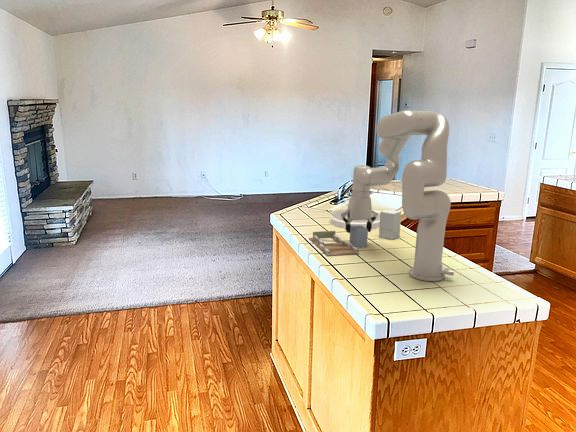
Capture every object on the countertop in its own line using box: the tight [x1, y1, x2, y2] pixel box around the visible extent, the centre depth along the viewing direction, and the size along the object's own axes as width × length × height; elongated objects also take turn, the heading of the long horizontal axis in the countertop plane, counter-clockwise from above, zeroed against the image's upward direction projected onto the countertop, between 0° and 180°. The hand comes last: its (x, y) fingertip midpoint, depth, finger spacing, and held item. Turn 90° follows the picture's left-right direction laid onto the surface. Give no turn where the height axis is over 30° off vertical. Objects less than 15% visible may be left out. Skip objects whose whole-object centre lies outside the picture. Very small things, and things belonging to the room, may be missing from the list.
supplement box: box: [378, 208, 402, 241], centre depth 215 cm, size 7×7×13 cm
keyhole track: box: [308, 230, 360, 257], centre depth 200 cm, size 26×14×3 cm, turn 14°
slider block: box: [349, 225, 369, 249], centre depth 202 cm, size 8×5×8 cm, turn 14°
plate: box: [329, 208, 380, 230], centre depth 241 cm, size 27×27×6 cm
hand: (358, 231), depth 202 cm, fingers open, 9 cm apart
